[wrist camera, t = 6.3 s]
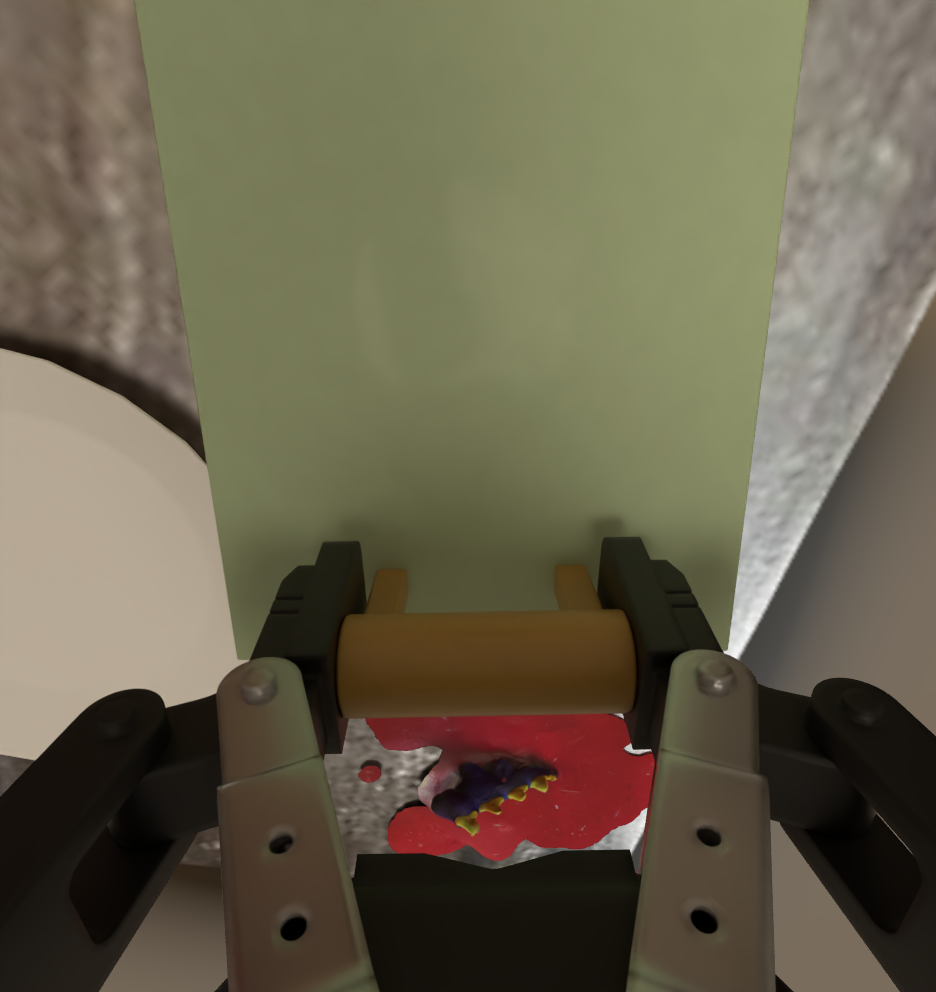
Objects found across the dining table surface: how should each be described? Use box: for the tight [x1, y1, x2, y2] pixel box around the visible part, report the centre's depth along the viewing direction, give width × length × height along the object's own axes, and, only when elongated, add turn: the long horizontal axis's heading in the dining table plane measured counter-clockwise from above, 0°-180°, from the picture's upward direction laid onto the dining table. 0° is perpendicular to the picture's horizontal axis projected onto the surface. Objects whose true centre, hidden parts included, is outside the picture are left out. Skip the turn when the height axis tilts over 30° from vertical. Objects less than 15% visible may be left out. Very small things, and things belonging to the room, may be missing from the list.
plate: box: [0, 348, 249, 760], centre depth 28 cm, size 21×21×2 cm
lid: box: [134, 0, 809, 719], centre depth 12 cm, size 14×12×5 cm
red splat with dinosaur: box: [358, 714, 655, 861], centre depth 35 cm, size 18×15×5 cm
